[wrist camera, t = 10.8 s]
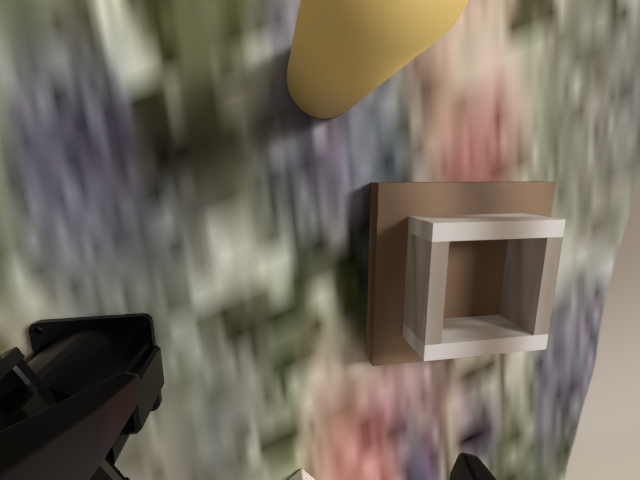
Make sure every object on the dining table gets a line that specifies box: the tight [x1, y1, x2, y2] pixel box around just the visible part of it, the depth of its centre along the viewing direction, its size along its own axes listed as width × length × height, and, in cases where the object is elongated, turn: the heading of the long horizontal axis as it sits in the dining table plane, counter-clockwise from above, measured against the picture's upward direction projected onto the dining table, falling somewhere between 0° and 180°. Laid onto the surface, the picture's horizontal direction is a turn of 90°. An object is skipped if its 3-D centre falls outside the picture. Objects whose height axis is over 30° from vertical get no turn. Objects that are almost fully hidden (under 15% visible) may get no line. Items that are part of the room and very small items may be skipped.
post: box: [286, 0, 468, 119], centre depth 14 cm, size 4×4×11 cm
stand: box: [366, 181, 566, 366], centre depth 21 cm, size 12×12×4 cm
